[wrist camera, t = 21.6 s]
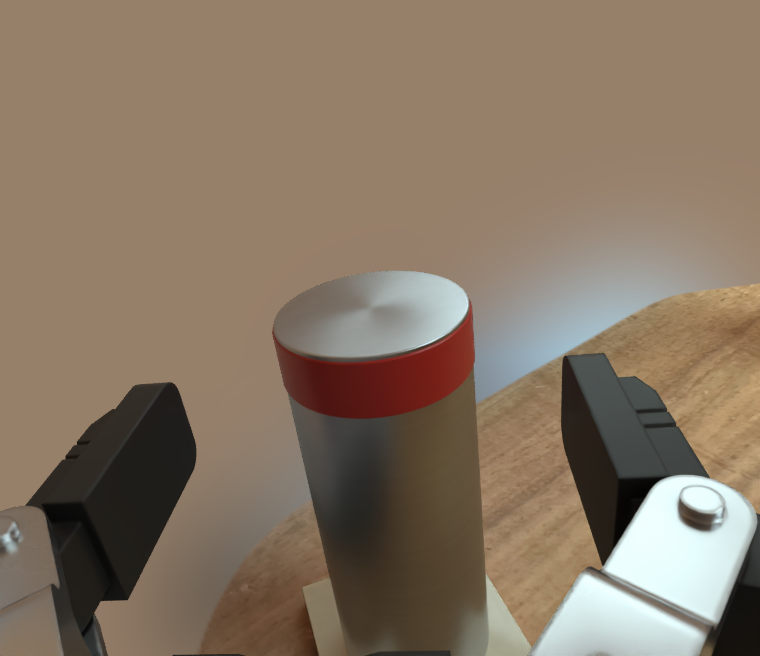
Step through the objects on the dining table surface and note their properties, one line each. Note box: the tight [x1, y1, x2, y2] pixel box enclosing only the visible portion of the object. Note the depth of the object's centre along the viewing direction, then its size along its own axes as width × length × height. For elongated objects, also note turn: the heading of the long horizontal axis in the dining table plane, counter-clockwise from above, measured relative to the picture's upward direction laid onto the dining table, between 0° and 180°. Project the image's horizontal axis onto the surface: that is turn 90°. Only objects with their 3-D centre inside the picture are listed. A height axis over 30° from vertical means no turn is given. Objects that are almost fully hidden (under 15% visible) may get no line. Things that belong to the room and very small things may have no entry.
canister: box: [272, 271, 489, 656], centre depth 19 cm, size 5×5×13 cm
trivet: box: [302, 574, 532, 656], centre depth 22 cm, size 7×7×1 cm
